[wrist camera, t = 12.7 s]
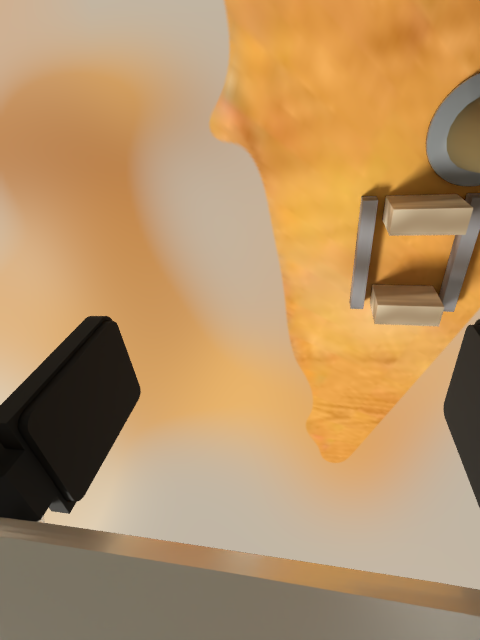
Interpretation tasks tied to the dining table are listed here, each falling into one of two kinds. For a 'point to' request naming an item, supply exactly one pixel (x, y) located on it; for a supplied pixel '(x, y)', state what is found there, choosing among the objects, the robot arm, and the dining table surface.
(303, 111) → the dining table surface
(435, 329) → the dining table surface
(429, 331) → the dining table surface
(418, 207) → the grey and cream frame
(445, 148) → the coaster
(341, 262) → the dining table surface
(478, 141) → the pepper mill
